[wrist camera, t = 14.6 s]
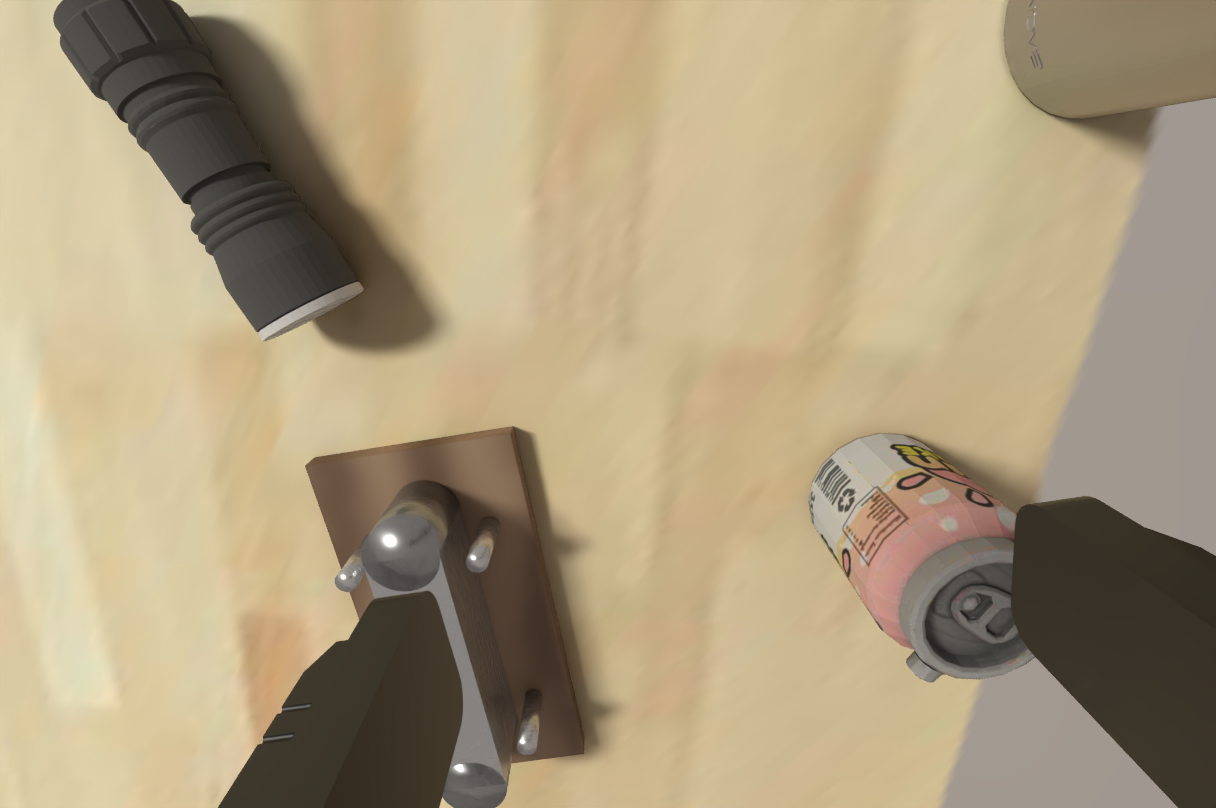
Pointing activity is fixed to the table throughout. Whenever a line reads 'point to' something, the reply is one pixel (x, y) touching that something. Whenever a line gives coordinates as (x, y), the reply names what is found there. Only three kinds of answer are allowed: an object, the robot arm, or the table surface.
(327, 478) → the tool rest
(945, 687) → the table surface
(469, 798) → the grey long metal bar
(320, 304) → the flashlight
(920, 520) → the beverage can
